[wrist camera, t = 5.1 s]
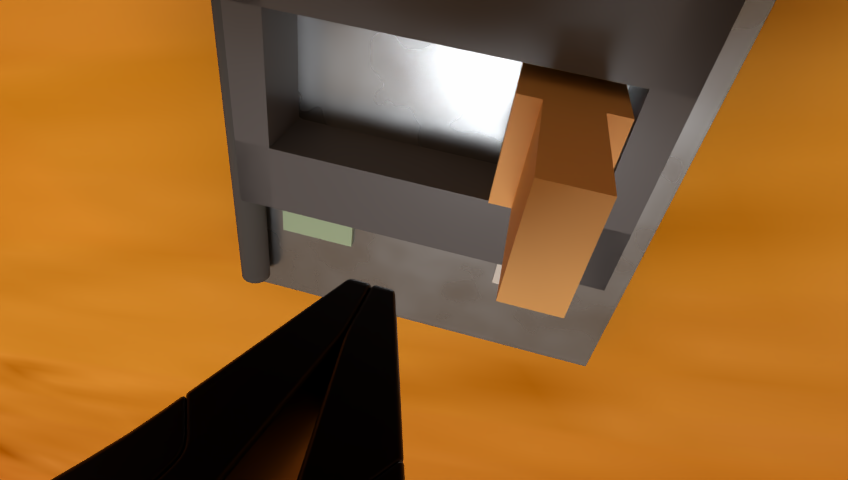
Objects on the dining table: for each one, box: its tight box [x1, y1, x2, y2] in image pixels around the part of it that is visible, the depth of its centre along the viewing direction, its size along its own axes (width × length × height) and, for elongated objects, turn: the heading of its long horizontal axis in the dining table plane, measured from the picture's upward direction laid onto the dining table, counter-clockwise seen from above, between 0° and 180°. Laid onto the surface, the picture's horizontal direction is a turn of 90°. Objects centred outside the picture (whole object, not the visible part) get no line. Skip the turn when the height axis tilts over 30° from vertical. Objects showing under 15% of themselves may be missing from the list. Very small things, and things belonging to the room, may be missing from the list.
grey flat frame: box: [211, 0, 270, 283], centre depth 17 cm, size 15×20×1 cm
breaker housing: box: [220, 0, 745, 291], centre depth 17 cm, size 13×12×2 cm
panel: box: [265, 0, 776, 366], centre depth 18 cm, size 16×22×1 cm
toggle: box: [488, 63, 635, 318], centre depth 14 cm, size 3×3×7 cm
